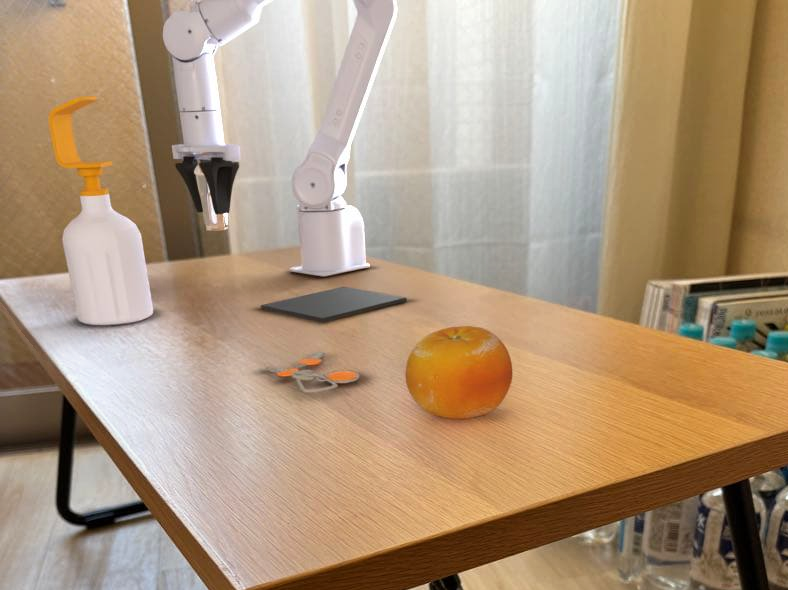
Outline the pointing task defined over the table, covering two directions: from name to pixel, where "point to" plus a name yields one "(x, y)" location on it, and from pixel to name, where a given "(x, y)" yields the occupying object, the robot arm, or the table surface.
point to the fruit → (459, 372)
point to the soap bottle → (99, 240)
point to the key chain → (315, 374)
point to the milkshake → (208, 204)
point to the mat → (333, 303)
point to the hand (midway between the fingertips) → (213, 212)
